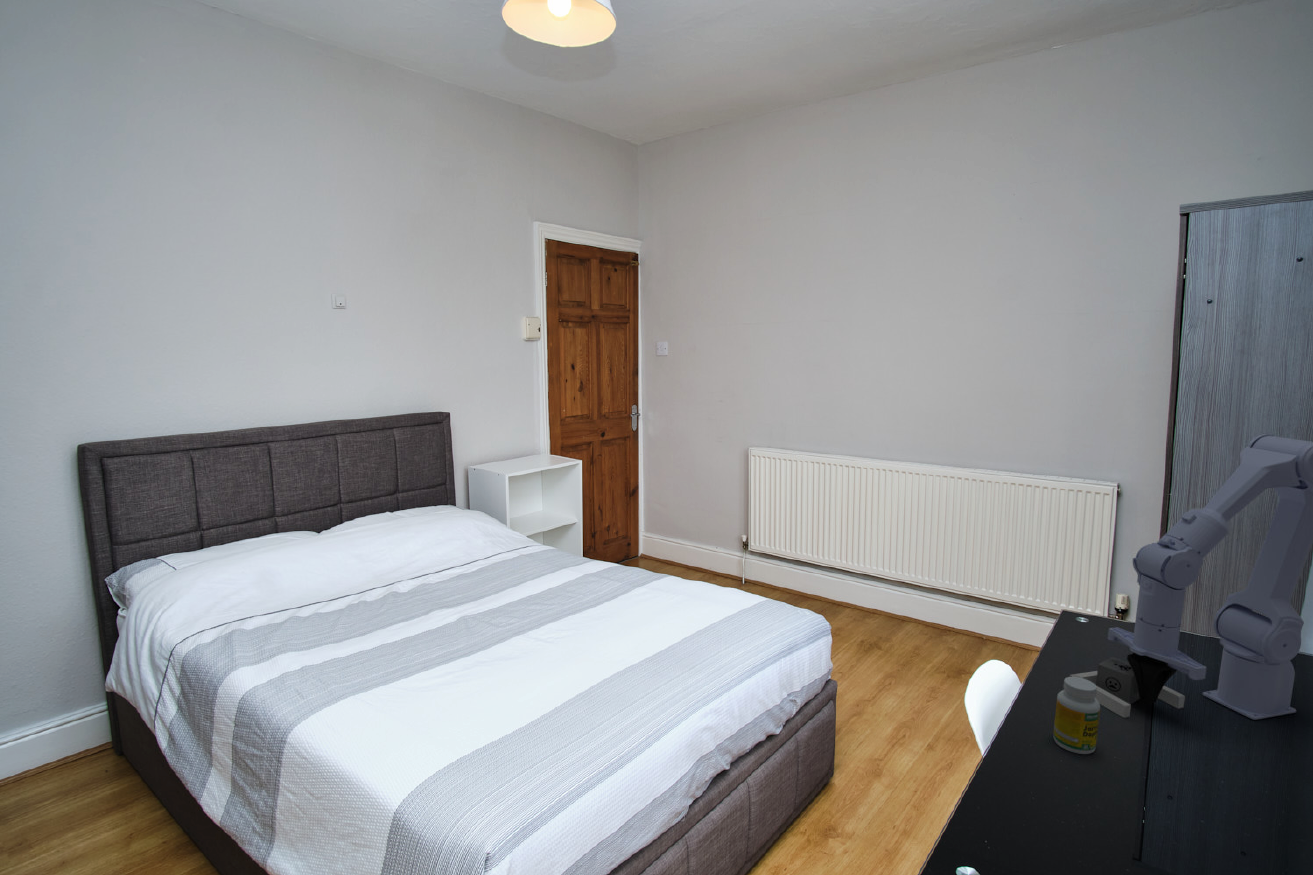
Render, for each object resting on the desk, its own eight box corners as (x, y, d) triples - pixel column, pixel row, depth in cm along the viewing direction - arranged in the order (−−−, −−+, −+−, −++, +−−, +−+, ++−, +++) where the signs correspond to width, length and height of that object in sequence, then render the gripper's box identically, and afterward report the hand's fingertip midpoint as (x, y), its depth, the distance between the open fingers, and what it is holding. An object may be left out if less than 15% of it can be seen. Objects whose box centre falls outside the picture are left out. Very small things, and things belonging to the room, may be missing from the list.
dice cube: (1128, 705, 110) (1132, 676, 109) (1095, 692, 114) (1098, 664, 113) (1142, 697, 113) (1145, 668, 112) (1108, 684, 117) (1112, 656, 116)
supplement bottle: (1063, 729, 103) (1070, 670, 101) (1102, 747, 98) (1109, 685, 97) (1045, 741, 100) (1051, 679, 98) (1084, 760, 95) (1091, 696, 94)
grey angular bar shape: (1125, 677, 119) (1126, 666, 119) (1183, 707, 110) (1185, 695, 109) (1068, 685, 116) (1069, 674, 116) (1123, 717, 106) (1125, 705, 106)
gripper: (1097, 604, 113) (1088, 681, 115) (1185, 642, 99) (1173, 728, 101) (1130, 601, 115) (1121, 676, 117) (1221, 637, 101) (1209, 722, 103)
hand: (1147, 700), depth 109 cm, fingers closed
